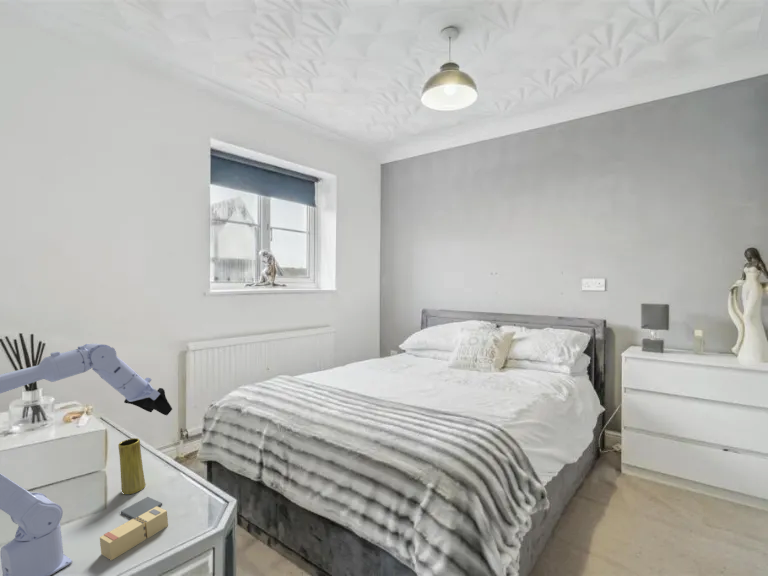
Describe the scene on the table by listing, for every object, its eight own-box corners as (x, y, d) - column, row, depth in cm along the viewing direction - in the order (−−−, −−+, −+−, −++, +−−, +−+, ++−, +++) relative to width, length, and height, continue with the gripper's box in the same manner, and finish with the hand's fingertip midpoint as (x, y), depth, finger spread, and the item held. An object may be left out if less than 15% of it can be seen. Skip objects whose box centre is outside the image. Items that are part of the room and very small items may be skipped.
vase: (133, 495, 111) (129, 447, 110) (115, 494, 112) (111, 446, 112) (150, 483, 117) (146, 437, 116) (133, 482, 118) (128, 437, 118)
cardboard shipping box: (111, 560, 86) (109, 542, 85) (101, 554, 88) (99, 536, 88) (146, 539, 92) (144, 522, 92) (136, 533, 94) (134, 517, 94)
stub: (147, 538, 92) (146, 522, 92) (137, 533, 94) (135, 517, 94) (168, 526, 97) (166, 510, 96) (158, 521, 99) (156, 505, 99)
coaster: (135, 520, 100) (135, 518, 99) (120, 513, 103) (120, 511, 103) (162, 505, 106) (162, 503, 106) (147, 498, 109) (147, 496, 109)
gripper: (152, 368, 97) (187, 400, 105) (122, 365, 105) (157, 395, 112) (130, 392, 93) (168, 423, 100) (100, 387, 100) (138, 417, 108)
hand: (161, 410), depth 106 cm, fingers open, 7 cm apart
